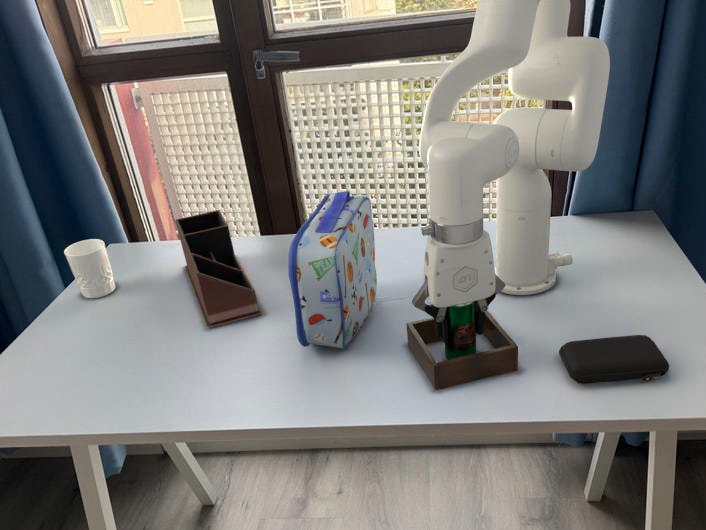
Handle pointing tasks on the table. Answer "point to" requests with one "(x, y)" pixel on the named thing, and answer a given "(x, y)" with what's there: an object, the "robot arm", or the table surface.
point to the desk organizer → (215, 270)
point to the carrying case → (613, 359)
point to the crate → (466, 366)
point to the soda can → (461, 330)
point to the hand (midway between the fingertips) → (460, 333)
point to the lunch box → (333, 270)
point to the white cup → (91, 267)
